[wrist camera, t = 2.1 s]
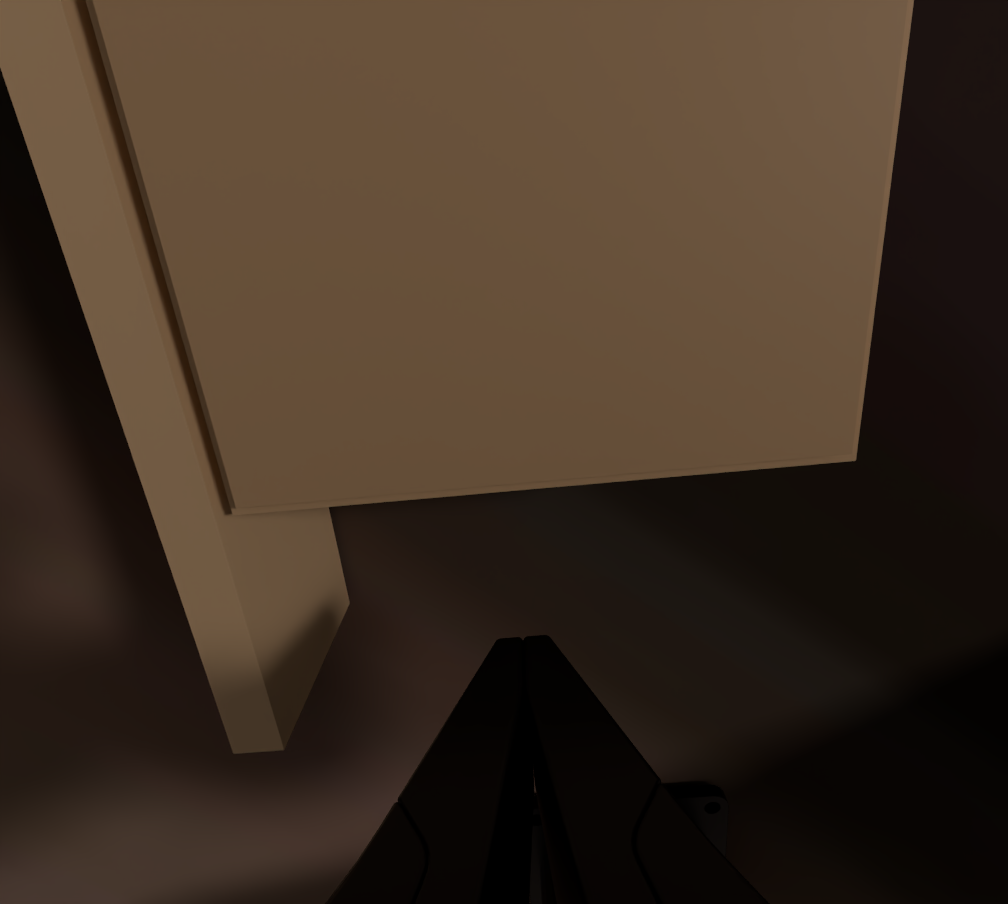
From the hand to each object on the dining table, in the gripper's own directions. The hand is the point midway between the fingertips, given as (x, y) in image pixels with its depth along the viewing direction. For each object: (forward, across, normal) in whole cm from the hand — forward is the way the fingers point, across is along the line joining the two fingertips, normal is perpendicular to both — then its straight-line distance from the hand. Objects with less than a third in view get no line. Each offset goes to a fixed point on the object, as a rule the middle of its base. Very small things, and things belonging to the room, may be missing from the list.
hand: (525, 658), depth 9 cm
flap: (+6, +5, -5) cm, 9 cm away
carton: (+6, 0, -7) cm, 9 cm away
